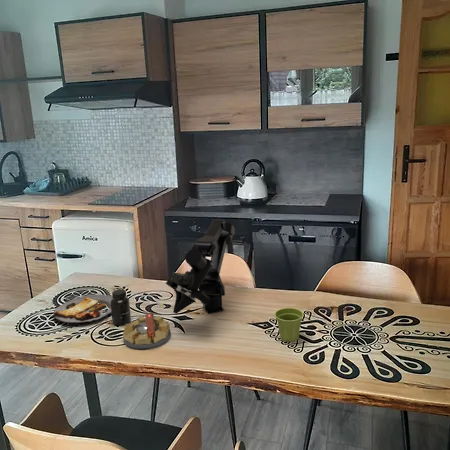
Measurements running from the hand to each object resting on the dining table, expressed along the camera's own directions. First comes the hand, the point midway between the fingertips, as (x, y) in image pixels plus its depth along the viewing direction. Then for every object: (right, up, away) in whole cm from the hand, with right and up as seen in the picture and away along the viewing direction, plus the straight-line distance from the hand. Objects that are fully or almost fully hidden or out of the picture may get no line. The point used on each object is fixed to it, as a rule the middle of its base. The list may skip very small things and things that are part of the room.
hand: (174, 313), depth 155 cm
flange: (-9, -9, +1) cm, 13 cm away
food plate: (-37, -4, +23) cm, 43 cm away
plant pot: (+39, -8, -4) cm, 40 cm away
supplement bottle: (-21, -6, +13) cm, 25 cm away
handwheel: (-10, -7, 0) cm, 12 cm away
